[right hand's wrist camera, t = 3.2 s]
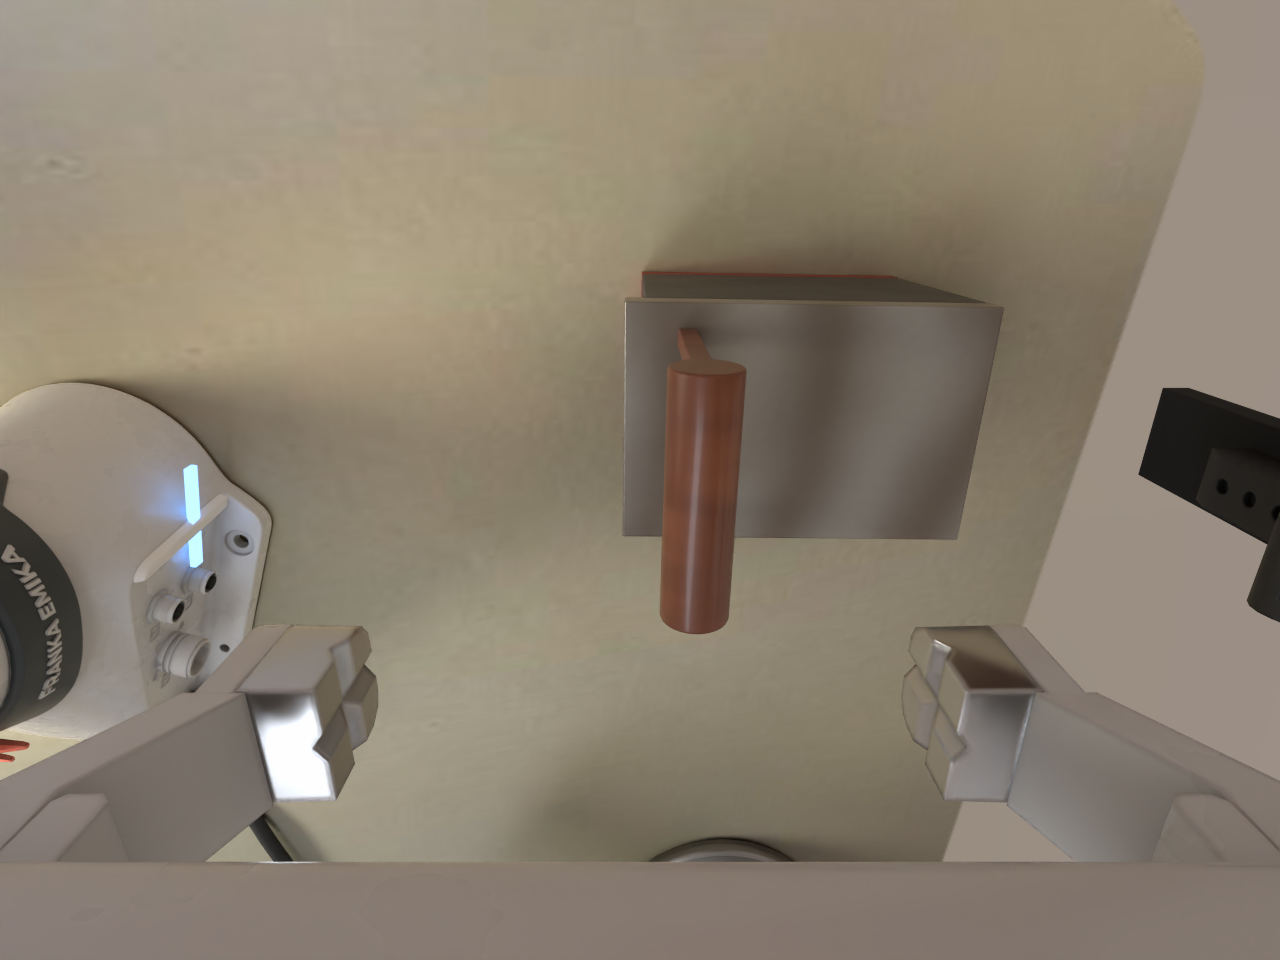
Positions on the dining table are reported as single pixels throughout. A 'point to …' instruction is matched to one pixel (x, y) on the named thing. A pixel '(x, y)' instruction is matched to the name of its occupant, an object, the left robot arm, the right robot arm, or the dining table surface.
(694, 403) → the lid
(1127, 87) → the dining table surface
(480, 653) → the dining table surface
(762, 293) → the chest
